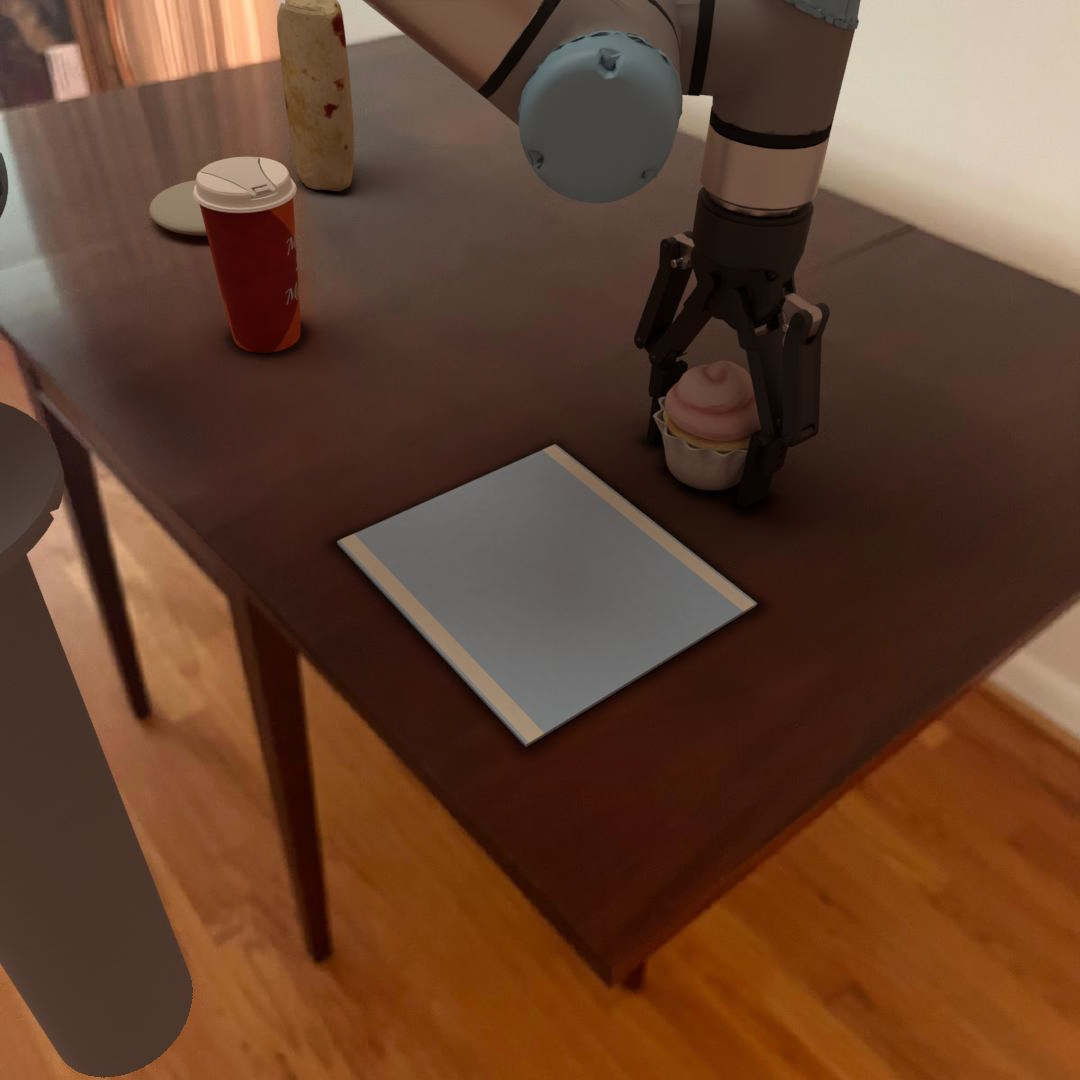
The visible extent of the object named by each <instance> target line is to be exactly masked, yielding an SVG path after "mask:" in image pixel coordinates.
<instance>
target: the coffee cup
mask: <svg viewBox="0 0 1080 1080" xmlns="http://www.w3.org/2000/svg"><path fill="white" fill-rule="evenodd" d="M289 172H290V171H289V170H288V168H287V167H286V166H285V165H284V164H283V163H281V162H279V161H277V160H275V159H271V158H267V157H261V156H260V157H259V156H234V157H229V158H223V159H220V160H216V161H213V162H211V163H209V164H207V165H205V166H204V167H202V168H201V169H200V170H199V171H198V172H197V174H196V178H195V180H196V185H195V187H194V190H193V197H194V199H195V200H196V201H197V202H198V203H199V204H200V208H201V212H202V216H203V220H204V224H205V228H206V233H207V241H208V245H209V248H210V253H211V257H212V261H213V264H214V269H215V273H216V277H217V281H218V286H219V290H220V294H221V297H222V302H223V305H224V310H225V313H226V317H227V322H228V325H229V328H230V333H231V336H232V338H233V342H234V343H235V344H236V345H237V346H238V348H240V349H242V350H244V351H247V352H250V353H257V354H269V353H276V352H280V351H283V350H286V349H288V348H291V347H292V346H294V345H295V344H297V342H298V341H299V339H300V337H301V308H300V307H301V304H300V289H299V288H300V287H299V273H298V272H299V271H298V270H299V269H298V255H297V240H296V239H297V238H296V223H295V208H294V205H295V204H294V197H295V196H296V193H297V189H298V188H297V185H296V182H295V181H294V180H293V179H292V178H291V175H290V173H289Z"/></svg>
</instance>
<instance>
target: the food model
mask: <svg viewBox="0 0 1080 1080" xmlns="http://www.w3.org/2000/svg"><path fill="white" fill-rule="evenodd" d="M276 32H277V39H278V47H279V55H280V66H281V75H282V85H283V87H282V88H283V93H284V103H285V109H286V115H287V121H288V131H289V137H290V144H291V149H292V156H293V160H294V166H295V169H296V172H297V175H298V177H299V180H300V181H301V182H302V183H303V184H304V185H305V186H306V187H307V188H309V189H312V190H321V191H322V190H323V191H324V190H325V191H332V192H341V191H344V190H345V189H347V188H349V187H350V186H351V184H352V181H353V173H354V157H355V156H354V155H355V154H354V153H355V132H354V131H355V130H354V129H355V128H354V111H353V101H352V100H353V99H352V98H353V97H352V88H351V77H350V76H351V75H350V66H349V55H348V47H347V39H346V30H345V23H344V15H343V11H342V7H341V4H340V2H339V1H338V0H284V2H280V5H279V8H278V10H277V15H276Z"/></svg>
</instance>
